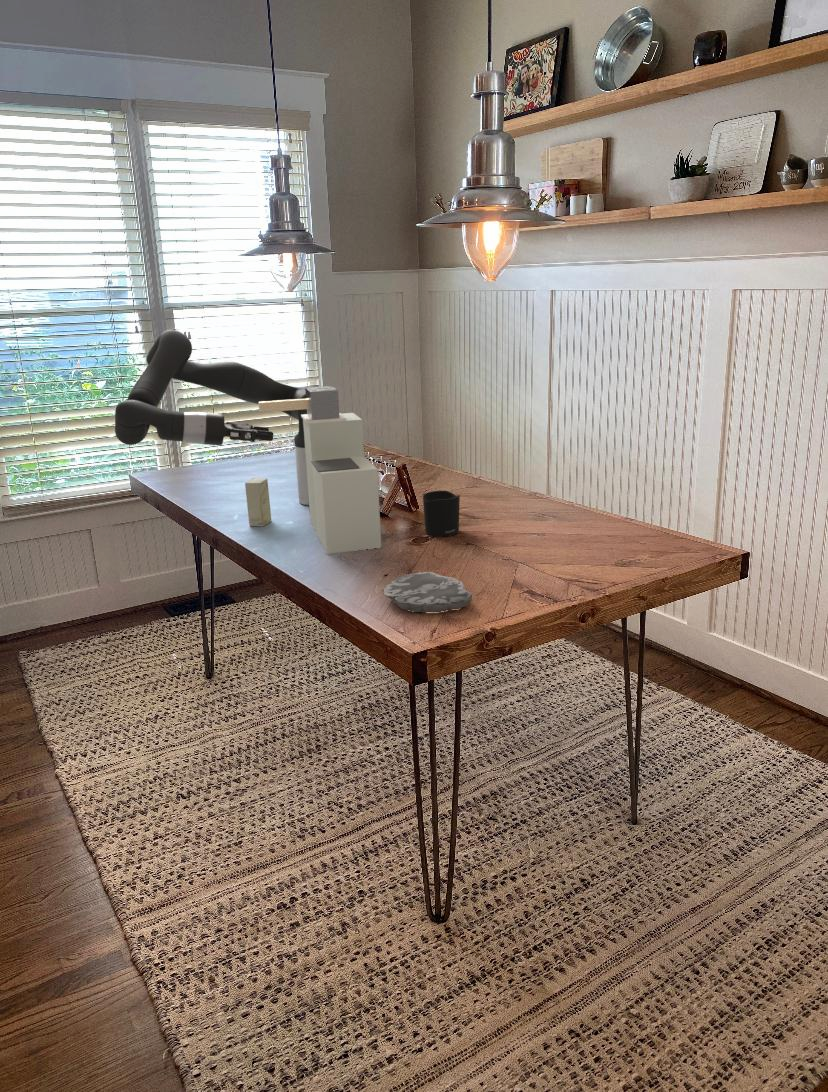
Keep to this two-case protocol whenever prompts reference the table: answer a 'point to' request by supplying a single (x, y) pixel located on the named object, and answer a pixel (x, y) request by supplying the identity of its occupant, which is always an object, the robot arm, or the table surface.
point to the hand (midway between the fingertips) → (270, 434)
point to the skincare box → (258, 501)
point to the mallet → (309, 403)
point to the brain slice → (427, 592)
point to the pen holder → (441, 513)
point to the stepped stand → (341, 484)
